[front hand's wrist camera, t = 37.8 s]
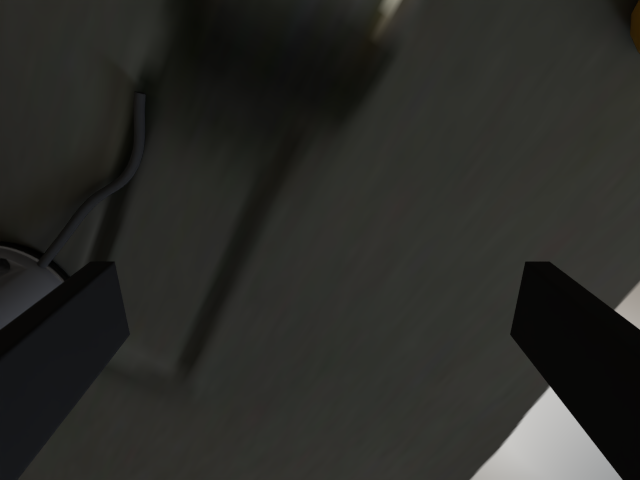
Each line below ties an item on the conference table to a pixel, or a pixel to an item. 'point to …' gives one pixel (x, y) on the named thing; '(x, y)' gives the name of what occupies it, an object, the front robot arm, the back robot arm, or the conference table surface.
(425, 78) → the conference table surface
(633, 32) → the yellow bell pepper
